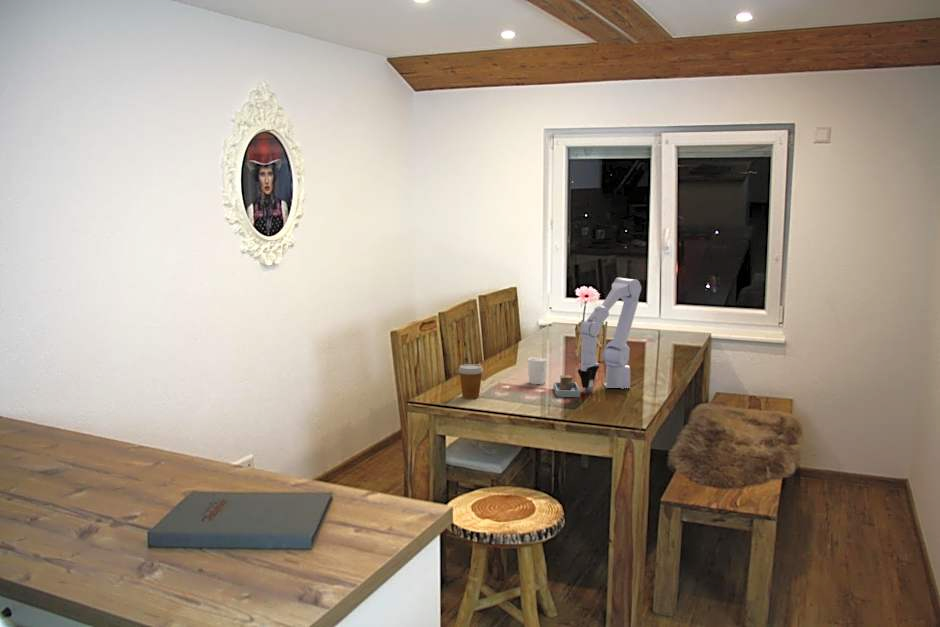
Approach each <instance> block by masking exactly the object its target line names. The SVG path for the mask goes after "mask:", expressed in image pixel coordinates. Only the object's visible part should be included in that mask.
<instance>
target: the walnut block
mask: <svg viewBox="0 0 940 627" xmlns="http://www.w3.org/2000/svg"><path fill="white" fill-rule="evenodd" d="M559 382H560V388H561V390H571V384H572V382H573V381H572V376H571V375H570V374H568V375H565V374H562V375H560V381H559Z"/></svg>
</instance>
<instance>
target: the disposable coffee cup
mask: <svg viewBox="0 0 940 627" xmlns="http://www.w3.org/2000/svg"><path fill="white" fill-rule="evenodd" d="M458 372H459V379H460V380H459V381H460V387H461V395H462V399H465V398H466V399H465V400H475V398H476V399H478V397H479V398H480V392H481V391H480V390H481V384H482V383H481V382H482V375H483V372H484V369H483V365H480V364H476V363H475V364H474V363H467V364H466V363H465V364H461V365H459V368H458Z"/></svg>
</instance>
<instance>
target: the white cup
mask: <svg viewBox="0 0 940 627" xmlns="http://www.w3.org/2000/svg"><path fill="white" fill-rule="evenodd" d="M547 369H548V359H547V358H546V357H541V356H533V357H529V358H527V371H528V373H527V374H528V383H529V384H530V383H532V384H531V385H536V384H540V385H545V384H546V379H547V378H546V376H547ZM544 383H545V384H544Z"/></svg>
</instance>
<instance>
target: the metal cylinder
mask: <svg viewBox="0 0 940 627" xmlns="http://www.w3.org/2000/svg"><path fill="white" fill-rule="evenodd" d="M593 381H594V382H595V380H593V379H590V381H589V387H588V388H583V387H582V393H583V392H585V393H584V394H593V393H594V383H593ZM592 392H593V393H592Z"/></svg>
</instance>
